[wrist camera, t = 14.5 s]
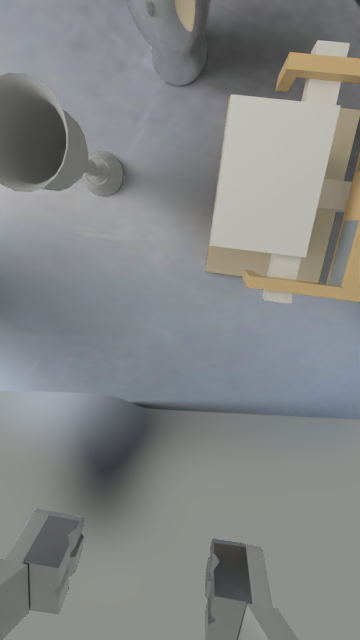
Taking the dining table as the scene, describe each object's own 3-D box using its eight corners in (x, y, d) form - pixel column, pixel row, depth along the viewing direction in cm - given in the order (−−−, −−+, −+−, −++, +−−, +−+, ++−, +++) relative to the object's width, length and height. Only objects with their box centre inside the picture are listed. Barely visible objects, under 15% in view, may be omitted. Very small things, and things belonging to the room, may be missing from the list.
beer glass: (224, 59, 35) (235, -56, 20) (173, 105, 36) (150, 28, 22) (186, -2, 33) (169, -173, 19) (135, 48, 35) (85, -74, 21)
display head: (204, 272, 41) (202, 295, 28) (228, 98, 36) (241, 23, 22) (313, 286, 41) (364, 316, 27) (355, 111, 35) (447, 41, 22)
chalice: (123, 212, 40) (60, 202, 23) (71, 198, 40) (-30, 178, 23) (135, 149, 38) (75, 87, 21) (80, 134, 38) (-25, 60, 21)
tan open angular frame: (242, 279, 31) (247, 287, 28) (277, 76, 26) (289, 51, 22) (341, 292, 31) (360, 301, 27) (397, 88, 26) (429, 65, 22)
